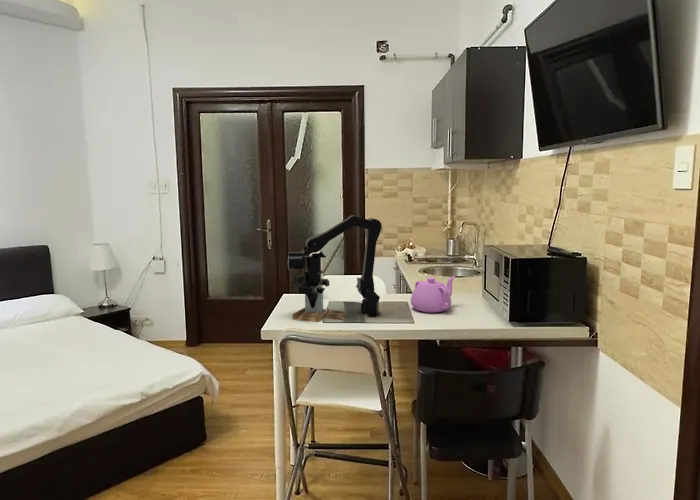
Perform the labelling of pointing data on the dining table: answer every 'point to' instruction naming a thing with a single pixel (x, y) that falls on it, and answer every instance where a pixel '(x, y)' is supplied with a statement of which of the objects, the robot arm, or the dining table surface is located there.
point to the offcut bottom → (307, 318)
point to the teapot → (432, 295)
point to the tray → (318, 318)
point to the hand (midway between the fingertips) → (314, 306)
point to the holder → (337, 315)
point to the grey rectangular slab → (318, 304)
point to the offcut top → (310, 314)
